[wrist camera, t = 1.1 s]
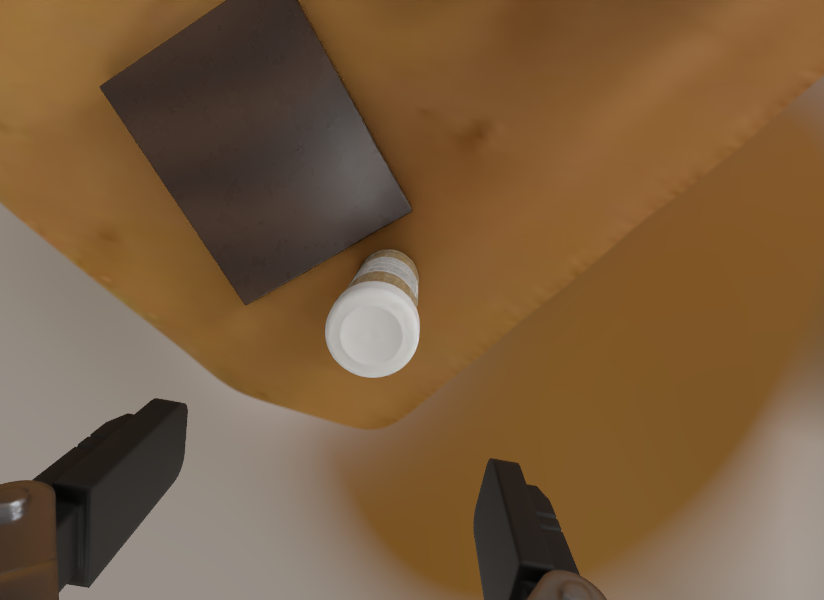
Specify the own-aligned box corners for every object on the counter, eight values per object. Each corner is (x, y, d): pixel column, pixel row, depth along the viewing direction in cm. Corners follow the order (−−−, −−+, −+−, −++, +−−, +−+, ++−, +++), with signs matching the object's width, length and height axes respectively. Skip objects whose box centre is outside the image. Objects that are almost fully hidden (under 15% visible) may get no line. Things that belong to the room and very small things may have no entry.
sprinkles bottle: (390, 318, 36) (373, 398, 23) (345, 278, 35) (302, 337, 22) (432, 276, 35) (439, 335, 22) (387, 234, 34) (368, 268, 21)
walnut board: (112, 90, 32) (98, 86, 31) (283, -25, 30) (277, -35, 29) (252, 300, 36) (245, 306, 34) (412, 209, 34) (412, 210, 32)
